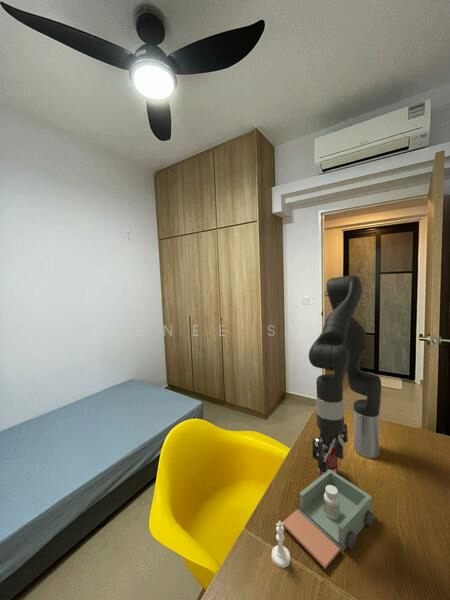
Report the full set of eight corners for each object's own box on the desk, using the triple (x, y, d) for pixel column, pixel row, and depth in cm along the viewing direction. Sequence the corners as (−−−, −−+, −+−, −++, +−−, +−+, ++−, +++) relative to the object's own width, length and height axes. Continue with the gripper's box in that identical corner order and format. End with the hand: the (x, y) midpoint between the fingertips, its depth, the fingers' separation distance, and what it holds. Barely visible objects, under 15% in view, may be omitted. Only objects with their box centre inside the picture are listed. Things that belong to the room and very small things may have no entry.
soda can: (339, 481, 88) (339, 449, 87) (319, 478, 90) (318, 447, 89) (335, 467, 95) (334, 437, 94) (316, 465, 96) (315, 435, 95)
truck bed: (326, 484, 87) (326, 467, 87) (376, 519, 74) (376, 499, 73) (296, 509, 78) (296, 490, 78) (347, 555, 65) (347, 532, 64)
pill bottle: (326, 504, 78) (326, 481, 77) (341, 512, 75) (341, 488, 75) (321, 514, 75) (321, 490, 74) (337, 523, 72) (337, 498, 71)
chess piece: (269, 548, 67) (268, 514, 67) (286, 545, 68) (285, 511, 67) (274, 569, 62) (273, 532, 62) (293, 566, 63) (292, 529, 62)
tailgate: (298, 507, 77) (282, 522, 72) (341, 546, 65) (325, 565, 61) (298, 510, 77) (282, 525, 73) (341, 549, 65) (325, 569, 61)
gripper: (332, 399, 79) (333, 447, 81) (303, 415, 71) (305, 468, 72) (355, 408, 73) (356, 460, 74) (327, 426, 65) (328, 484, 66)
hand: (331, 464), depth 73 cm, fingers open, 8 cm apart
